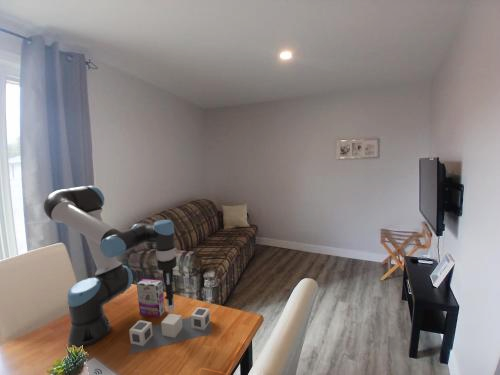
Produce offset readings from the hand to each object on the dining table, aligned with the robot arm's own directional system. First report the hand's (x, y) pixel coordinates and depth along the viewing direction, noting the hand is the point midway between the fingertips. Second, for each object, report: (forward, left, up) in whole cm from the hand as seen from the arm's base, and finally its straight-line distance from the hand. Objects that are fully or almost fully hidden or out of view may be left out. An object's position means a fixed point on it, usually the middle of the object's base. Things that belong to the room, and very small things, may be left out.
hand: (171, 310), depth 105 cm
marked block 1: (-10, -7, -10) cm, 16 cm away
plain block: (0, 0, -10) cm, 10 cm away
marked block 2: (+10, +7, -10) cm, 16 cm away
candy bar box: (-17, +9, -11) cm, 22 cm away
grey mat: (0, 0, -11) cm, 11 cm away
